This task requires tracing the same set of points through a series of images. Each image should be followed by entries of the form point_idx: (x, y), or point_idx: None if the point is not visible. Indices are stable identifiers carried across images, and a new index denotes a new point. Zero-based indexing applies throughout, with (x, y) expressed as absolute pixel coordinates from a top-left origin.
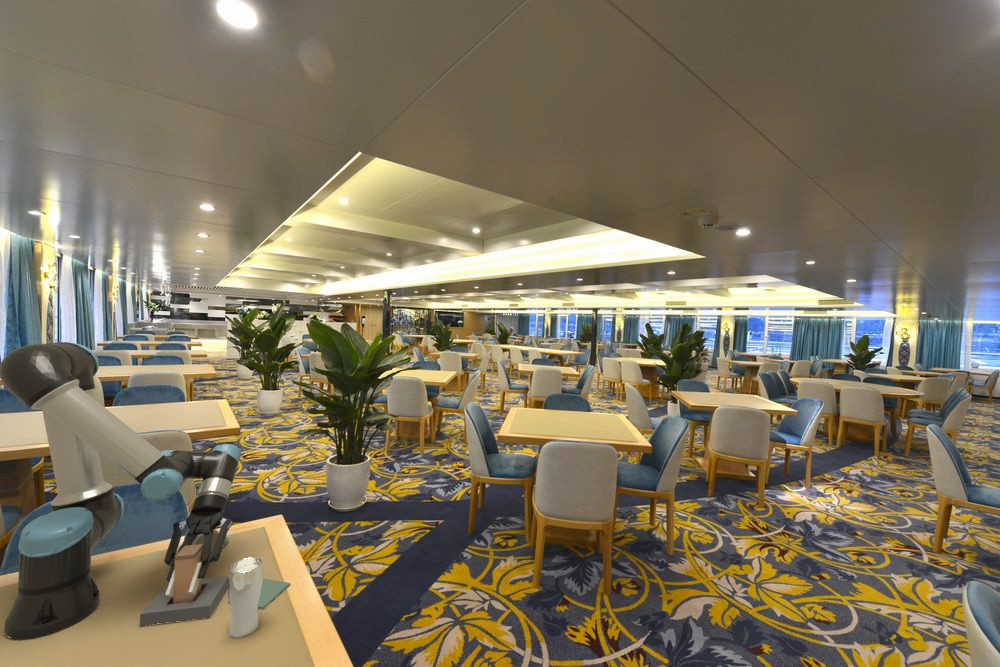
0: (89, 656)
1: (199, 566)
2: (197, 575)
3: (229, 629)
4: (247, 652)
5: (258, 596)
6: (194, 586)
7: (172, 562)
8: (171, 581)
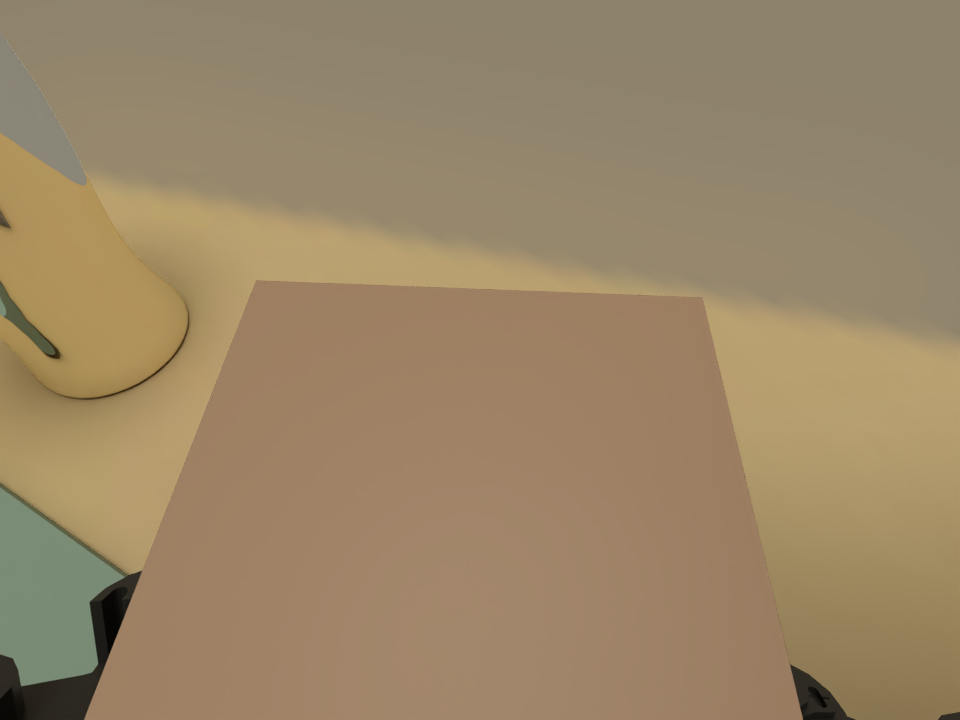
0: (774, 319)
1: None
2: None
3: (174, 300)
4: (125, 208)
5: None
6: None
7: (812, 693)
8: None
